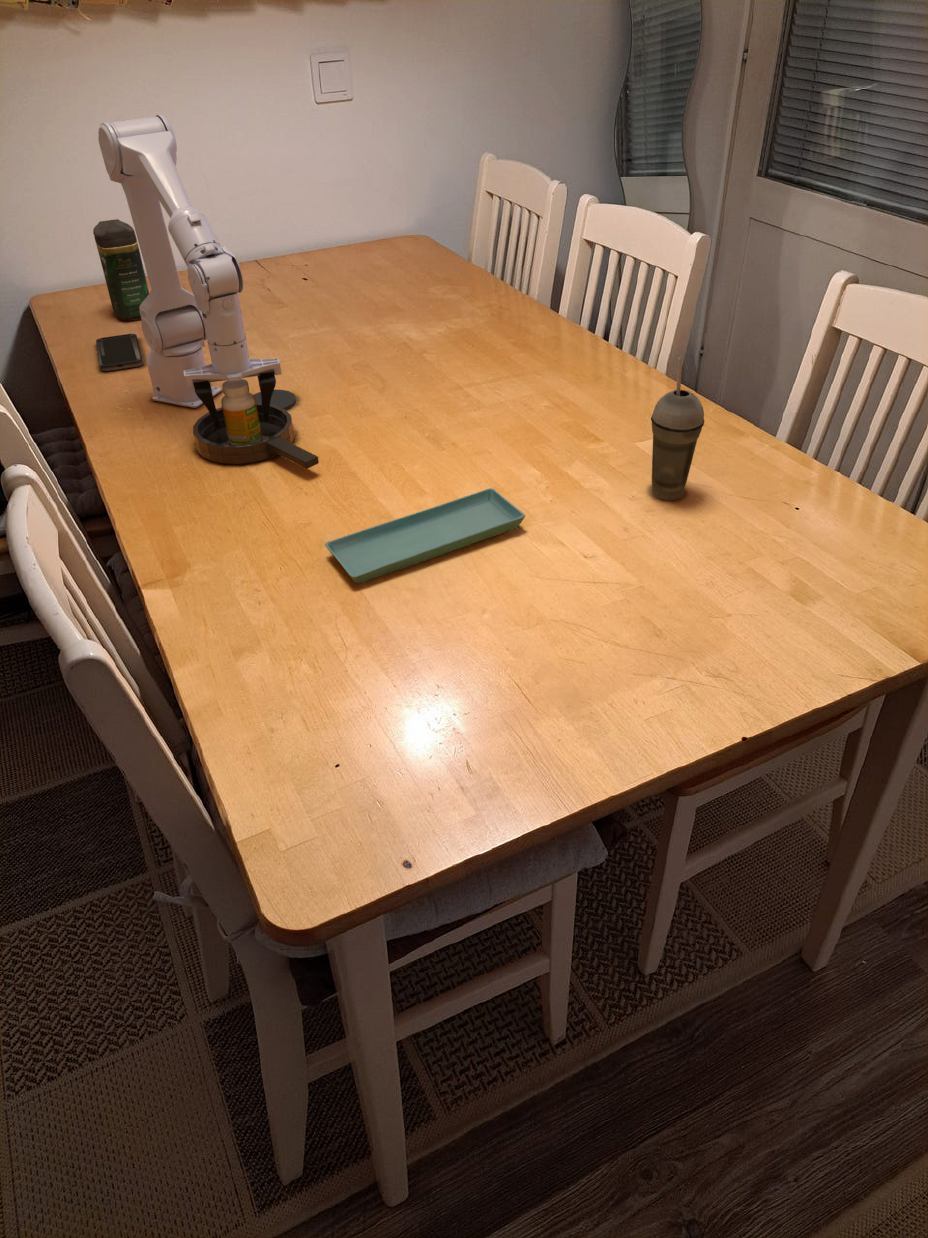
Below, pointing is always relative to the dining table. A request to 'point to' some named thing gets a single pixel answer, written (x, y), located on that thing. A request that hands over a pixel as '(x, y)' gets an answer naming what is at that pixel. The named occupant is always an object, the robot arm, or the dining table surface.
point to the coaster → (279, 399)
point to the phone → (119, 352)
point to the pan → (220, 450)
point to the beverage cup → (674, 440)
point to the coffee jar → (121, 267)
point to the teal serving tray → (424, 535)
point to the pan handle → (292, 452)
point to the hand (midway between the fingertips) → (242, 421)
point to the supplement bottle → (240, 413)
